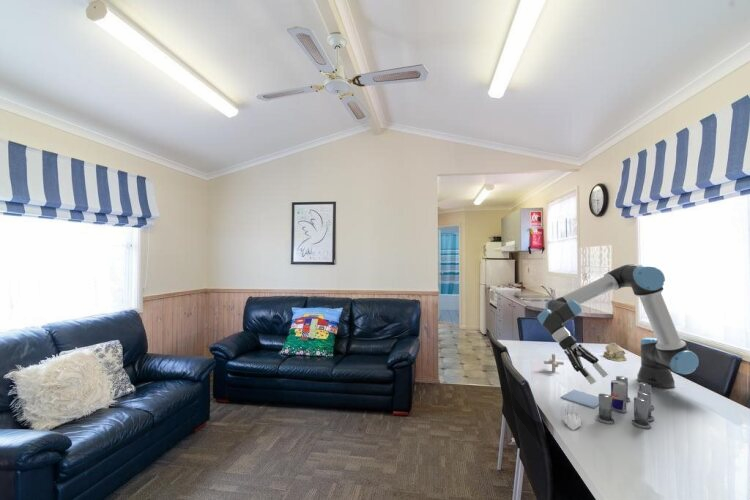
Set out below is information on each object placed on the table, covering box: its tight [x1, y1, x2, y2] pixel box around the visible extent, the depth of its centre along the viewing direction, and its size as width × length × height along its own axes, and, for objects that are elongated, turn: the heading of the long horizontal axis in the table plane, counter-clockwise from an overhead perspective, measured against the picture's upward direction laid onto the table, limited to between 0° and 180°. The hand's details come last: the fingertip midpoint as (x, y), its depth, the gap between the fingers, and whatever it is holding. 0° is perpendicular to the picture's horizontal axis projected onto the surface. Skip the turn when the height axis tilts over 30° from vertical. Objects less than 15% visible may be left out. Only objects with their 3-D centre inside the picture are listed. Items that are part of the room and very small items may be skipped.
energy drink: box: [610, 379, 627, 414], centre depth 146 cm, size 5×5×12 cm
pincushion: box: [562, 410, 582, 431], centre depth 135 cm, size 12×6×6 cm, turn 154°
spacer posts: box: [596, 375, 655, 430], centre depth 143 cm, size 19×35×10 cm, turn 127°
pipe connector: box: [543, 353, 565, 373], centre depth 195 cm, size 10×10×10 cm
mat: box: [560, 389, 599, 409], centre depth 158 cm, size 14×14×1 cm
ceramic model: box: [603, 342, 627, 362], centre depth 220 cm, size 14×11×10 cm
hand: (600, 379), depth 151 cm, fingers open, 13 cm apart
